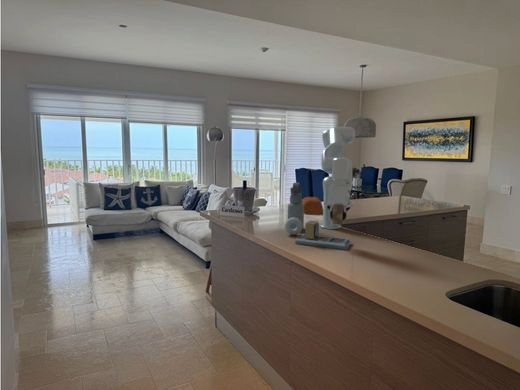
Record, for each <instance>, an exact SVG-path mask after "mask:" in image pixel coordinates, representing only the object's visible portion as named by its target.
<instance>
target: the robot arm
mask: <svg viewBox="0 0 520 390" xmlns="http://www.w3.org/2000/svg"><path fill="white" fill-rule="evenodd" d="M321 136H322V137H321V138H322V143H323V146H324V150H323V151H322V153H321V159H320V160H321V161H320V162H321V169H322V171H324V172H326V173H327V174H328V175H331V176H326V177H324V179H322V187H323V188H322V191H323V204H322V207H323V212H322V216H323V217H322V223H321V224H319V228H323V229H329V230H337V229H341V228H342V225H338V224H332V221H333V220H332V207H333V206H334V205H337V206H343V210H344V211H343V220H345V221H346V219H347V213H348V211H349V210H350V209H352V208H353V207H354V206H355V204H354V203H353V202H352V200H351V197H350V196H351V191H352V188H353V162H352V160H351V159H349V158H348V157H342V156H341V153H343V152H344V151H345V149H346V145H350V144H352V143H353V142H354V141H355V139H356V130H355V128H353V126H334V127H331V128H330V129H326V130H325V129H324V131H323V132H322V135H321Z"/></svg>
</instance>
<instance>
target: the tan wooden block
mask: <svg viewBox="0 0 520 390" xmlns="http://www.w3.org/2000/svg"><path fill="white" fill-rule="evenodd" d="M343 211H344V210H343V206H337V205H334V206H333V207H332V220H333V221H332V224H338V225H341V226H342V225H343V224H344V223H345V221H346V219H345V220H343Z"/></svg>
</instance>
